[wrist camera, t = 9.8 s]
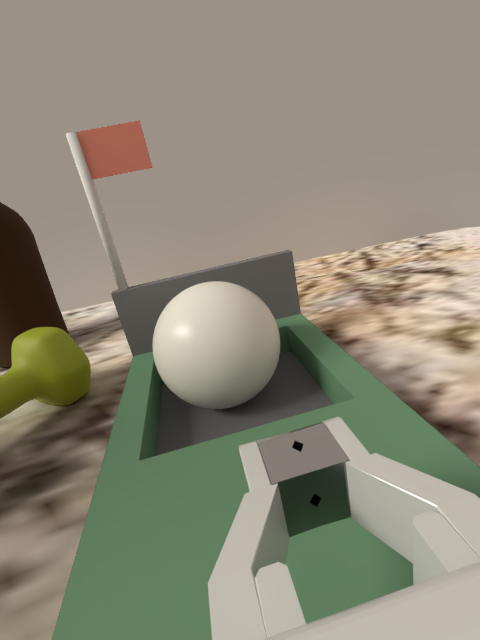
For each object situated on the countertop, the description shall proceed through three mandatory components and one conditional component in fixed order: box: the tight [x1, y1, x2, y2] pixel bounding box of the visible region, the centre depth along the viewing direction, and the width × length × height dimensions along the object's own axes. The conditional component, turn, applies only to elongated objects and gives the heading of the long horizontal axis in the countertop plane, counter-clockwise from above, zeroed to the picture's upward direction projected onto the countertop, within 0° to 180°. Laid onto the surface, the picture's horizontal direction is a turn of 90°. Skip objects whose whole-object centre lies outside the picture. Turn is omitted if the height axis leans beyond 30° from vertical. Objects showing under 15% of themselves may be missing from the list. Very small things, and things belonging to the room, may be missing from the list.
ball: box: [153, 281, 280, 409], centre depth 24 cm, size 9×9×9 cm
